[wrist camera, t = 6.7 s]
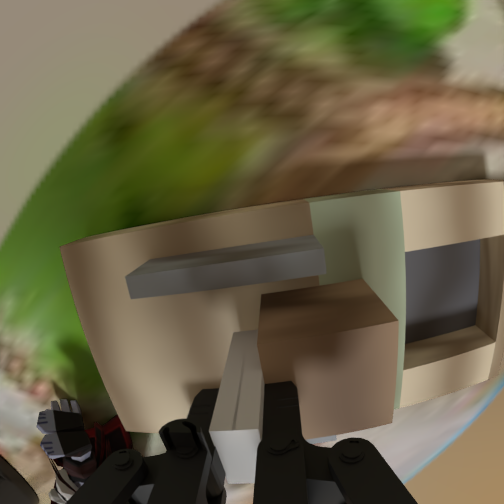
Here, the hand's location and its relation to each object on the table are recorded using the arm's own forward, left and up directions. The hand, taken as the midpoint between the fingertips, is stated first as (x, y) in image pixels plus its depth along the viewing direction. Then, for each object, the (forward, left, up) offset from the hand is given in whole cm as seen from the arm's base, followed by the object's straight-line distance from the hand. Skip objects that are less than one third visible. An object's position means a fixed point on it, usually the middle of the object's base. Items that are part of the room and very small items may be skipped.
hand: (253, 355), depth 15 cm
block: (+3, 0, -2) cm, 4 cm away
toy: (-15, -12, -5) cm, 20 cm away
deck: (+3, 0, -5) cm, 5 cm away
